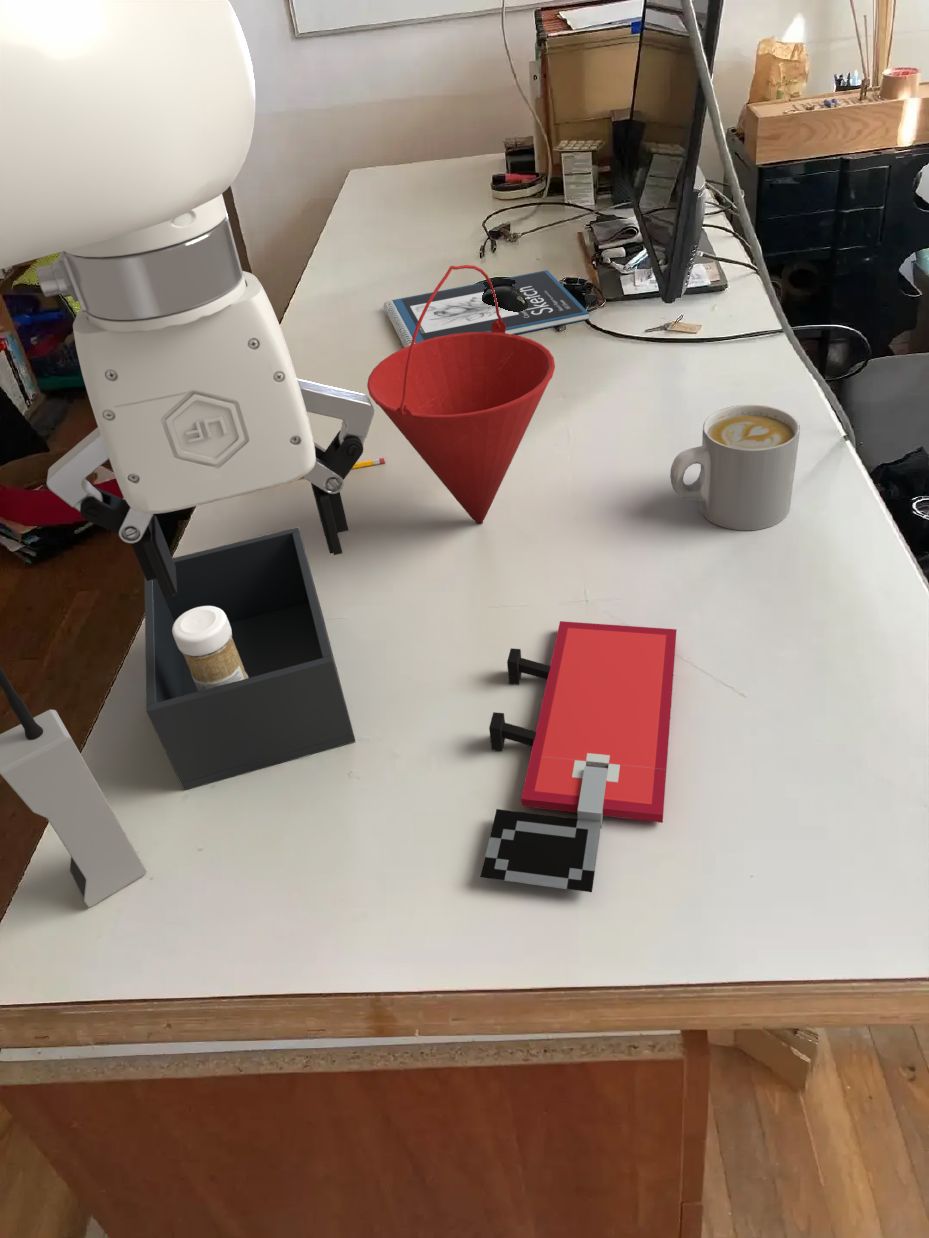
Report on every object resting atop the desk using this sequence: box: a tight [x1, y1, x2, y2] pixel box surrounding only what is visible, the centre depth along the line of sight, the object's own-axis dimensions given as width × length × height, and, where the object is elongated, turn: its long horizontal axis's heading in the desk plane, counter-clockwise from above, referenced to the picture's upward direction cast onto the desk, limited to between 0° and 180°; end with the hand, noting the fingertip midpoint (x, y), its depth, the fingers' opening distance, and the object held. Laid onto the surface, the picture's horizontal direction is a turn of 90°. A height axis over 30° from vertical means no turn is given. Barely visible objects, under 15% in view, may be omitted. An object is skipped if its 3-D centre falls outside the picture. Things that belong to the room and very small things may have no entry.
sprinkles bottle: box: [172, 606, 248, 692], centre depth 81 cm, size 5×5×13 cm
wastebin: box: [143, 526, 356, 791], centre depth 88 cm, size 22×16×10 cm
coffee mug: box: [669, 404, 801, 531], centre depth 102 cm, size 13×10×10 cm
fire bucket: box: [366, 264, 556, 525], centre depth 99 cm, size 22×20×30 cm
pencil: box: [299, 457, 386, 480], centre depth 121 cm, size 1×19×1 cm, turn 99°
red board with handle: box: [479, 620, 677, 893], centre depth 80 cm, size 30×3×15 cm
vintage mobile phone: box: [0, 666, 148, 908], centre depth 68 cm, size 4×5×25 cm
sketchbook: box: [383, 269, 590, 348], centre depth 155 cm, size 22×30×2 cm
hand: (252, 562), depth 54 cm, fingers open, 9 cm apart
